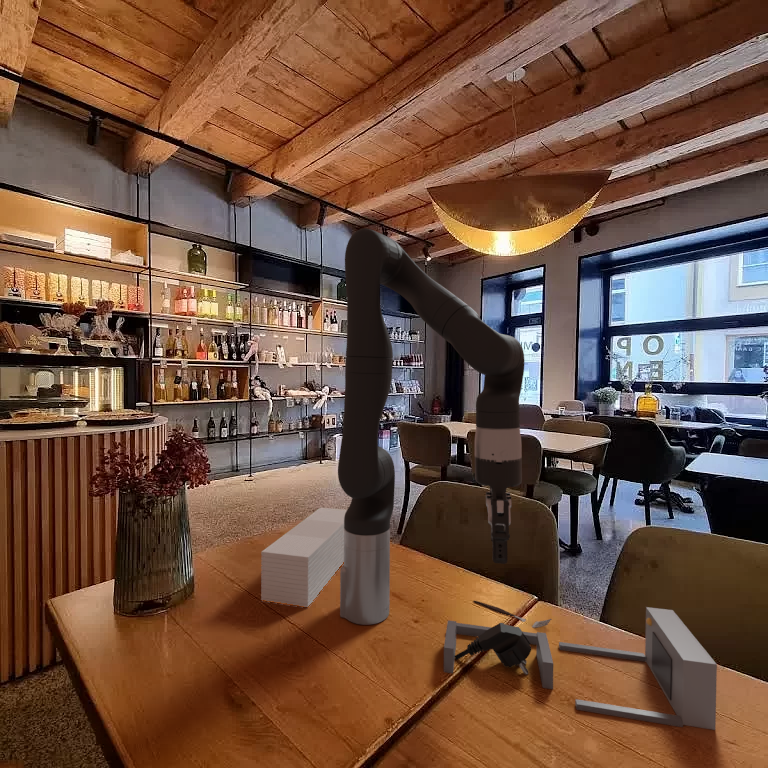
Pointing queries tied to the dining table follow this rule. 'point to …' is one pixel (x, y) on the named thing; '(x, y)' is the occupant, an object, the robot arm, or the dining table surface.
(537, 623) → the fork
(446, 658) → the plug holster
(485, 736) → the dining table surface
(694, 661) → the socket block
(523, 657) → the power plug
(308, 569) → the stack of papers
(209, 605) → the dining table surface
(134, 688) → the dining table surface
